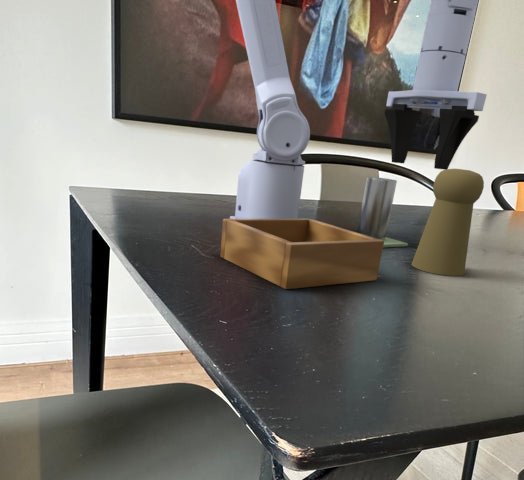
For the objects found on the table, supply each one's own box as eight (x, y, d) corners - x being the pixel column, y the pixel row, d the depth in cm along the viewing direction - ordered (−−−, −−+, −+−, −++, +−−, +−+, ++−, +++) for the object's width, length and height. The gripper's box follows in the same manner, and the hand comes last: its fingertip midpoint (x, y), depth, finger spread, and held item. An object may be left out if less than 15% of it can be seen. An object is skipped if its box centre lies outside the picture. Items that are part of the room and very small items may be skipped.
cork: (468, 278, 55) (497, 174, 51) (413, 270, 56) (437, 167, 52) (460, 266, 61) (485, 171, 56) (409, 259, 61) (430, 165, 57)
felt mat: (332, 235, 71) (332, 233, 71) (369, 234, 75) (369, 232, 75) (370, 248, 65) (370, 245, 65) (407, 246, 69) (408, 243, 69)
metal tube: (351, 236, 70) (361, 176, 66) (365, 234, 73) (375, 176, 69) (376, 242, 67) (388, 180, 64) (389, 240, 70) (402, 180, 67)
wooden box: (219, 257, 52) (222, 218, 51) (305, 252, 59) (309, 218, 57) (285, 289, 44) (291, 244, 42) (376, 280, 50) (384, 240, 49)
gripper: (511, 57, 61) (480, 173, 67) (418, 62, 72) (398, 161, 77) (478, 47, 57) (448, 171, 63) (384, 53, 68) (366, 159, 73)
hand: (418, 165), depth 70 cm, fingers open, 7 cm apart
